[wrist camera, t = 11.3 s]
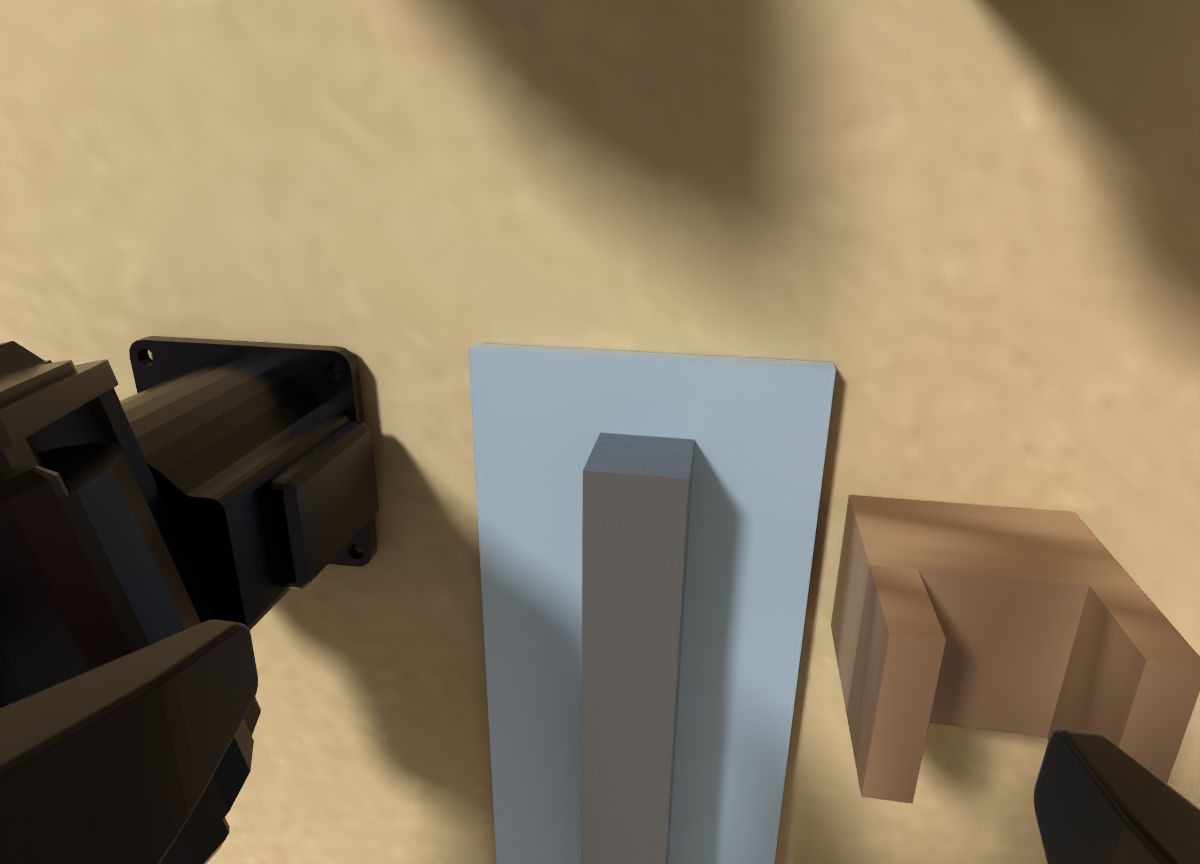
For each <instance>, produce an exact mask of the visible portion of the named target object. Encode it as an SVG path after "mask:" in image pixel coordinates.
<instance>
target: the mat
mask: <svg viewBox="0 0 1200 864" xmlns="http://www.w3.org/2000/svg"><path fill="white" fill-rule="evenodd" d="M469 364H470V383H471V402H472V421H473V439H474V458H475V477H476V495H477V514H478V533H479V551H480V570H481V589H482V608H483V626H484V645H485V664H486V682H487V701H488V720H489V738H490V757H491V776H492V794H493V813H494V832H495V851H496V864H580V862H581V690H582V518H583V469H584V467H585V464H586V462H587V460H588V458H589V456H590V454H591V451H592V449H593V447H594V445H595V443H596V441H597V438H598V436H599V434H600V433H614V434H627V435H641V436H654V437H668V438H681V439H694V455H693V471H692V488H691V504H690V520H689V536H688V552H687V568H686V584H685V601H684V617H683V633H682V649H681V665H680V681H679V697H678V713H677V730H676V746H675V762H674V778H673V794H672V810H671V826H670V843H669V859H668V864H774V863H775V855H776V847H777V839H778V831H779V823H780V815H781V807H782V799H783V790H784V782H785V774H786V766H787V758H788V750H789V742H790V734H791V726H792V718H793V710H794V702H795V694H796V686H797V678H798V670H799V662H800V654H801V646H802V638H803V630H804V622H805V613H806V605H807V597H808V589H809V581H810V573H811V565H812V557H813V549H814V541H815V533H816V525H817V517H818V509H819V501H820V493H821V485H822V477H823V469H824V461H825V453H826V445H827V436H828V428H829V420H830V412H831V404H832V396H833V388H834V380H835V372H836V368H835V366H834V363H833V362H821V361H803V360H784V359H766V358H747V357H729V356H710V355H692V354H673V353H655V352H636V351H618V350H599V349H581V348H562V347H544V346H525V345H507V344H488V343H475V344H474V345H473V346H472V347H470V348H469Z"/></svg>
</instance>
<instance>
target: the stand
mask: <svg viewBox="0 0 1200 864" xmlns="http://www.w3.org/2000/svg"><path fill="white" fill-rule="evenodd" d="M831 629H832V634H833V640H834V646H835V651H836V657H837V662H838V668H839V674H840V679H841V685H842V690H843V696H844V701H845V707H846V713H847V718H848V724H849V729H850V735H851V740H852V746H853V752H854V757H855V763H856V768H857V774H858V780H859V785H860V791H861V796H862V797H868V798H876V799H883V800H891V801H898V802H905V803H913V798H914V793H915V789H916V784H917V779H918V774H919V769H920V764H921V759H922V754H923V749H924V745H925V740H926V735H927V730H928V725H929V723H935V724H944V725H952V726H960V727H969V728H977V729H986V730H994V731H1002V732H1011V733H1019V734H1027V735H1036V736H1044V737H1048V739H1050V737H1051V735H1052V733H1053V732H1054V731H1055V730H1057V729H1060V728H1067V729H1075V730H1083V731H1090V732H1096V733H1099V734H1101V735H1103V736H1105V737H1106V738H1108V739H1109V740H1110V741H1112V742H1113V743H1114V744H1115V745H1117V746H1118V747H1119V748H1121V749H1122V750H1123V751H1125V752H1126V753H1127V754H1128V755H1130V756H1131V757H1132V758H1134V759H1135V760H1136V761H1138V762H1139V763H1140V764H1141V765H1143V766H1144V767H1145V768H1147V769H1148V770H1149V771H1151V772H1152V773H1153V774H1154V775H1156V776H1157V777H1158V778H1160V779H1161V780H1162V781H1164V782H1165V783H1166V784H1167V782H1168V779H1169V776H1170V773H1171V770H1172V768H1173V765H1174V762H1175V759H1176V756H1177V754H1178V751H1179V748H1180V745H1181V742H1182V740H1183V737H1184V734H1185V731H1186V728H1187V726H1188V723H1189V720H1190V717H1191V714H1192V711H1193V709H1194V706H1195V703H1196V700H1197V697H1198V695H1199V692H1200V657H1199V655H1198V654H1197V653H1196V652H1195V651H1194V650H1193V648H1192V647H1191V646H1190V645H1189V644H1188V643H1187V641H1186V640H1185V639H1184V638H1183V637H1182V636H1181V635H1180V633H1179V632H1178V631H1177V630H1176V629H1175V628H1174V626H1173V625H1172V624H1171V623H1170V622H1169V621H1168V619H1167V618H1166V617H1165V616H1164V615H1163V614H1162V613H1161V611H1160V610H1159V609H1158V608H1157V607H1156V606H1155V604H1154V603H1153V602H1152V601H1151V600H1150V599H1149V597H1148V596H1147V595H1146V594H1145V593H1144V592H1143V591H1142V589H1141V588H1140V587H1139V586H1138V585H1137V584H1136V582H1135V581H1134V580H1133V579H1132V578H1131V577H1130V575H1129V574H1128V573H1127V572H1126V571H1125V570H1124V569H1123V567H1122V566H1121V565H1120V564H1119V563H1118V562H1117V560H1116V559H1115V558H1114V557H1113V556H1112V555H1111V553H1110V552H1109V551H1108V550H1107V549H1106V548H1105V547H1104V545H1103V544H1102V543H1101V542H1100V541H1099V540H1098V538H1097V537H1096V536H1095V535H1094V534H1093V533H1092V531H1091V530H1090V529H1089V528H1088V527H1087V526H1086V525H1085V523H1084V522H1083V521H1082V520H1081V519H1080V518H1079V516H1078V515H1077V514H1076V513H1072V512H1060V511H1047V510H1034V509H1022V508H1009V507H996V506H983V505H971V504H958V503H945V502H933V501H920V500H907V499H894V498H882V497H869V496H856V495H849V499H848V507H847V514H846V521H845V528H844V535H843V542H842V550H841V557H840V564H839V571H838V578H837V586H836V593H835V600H834V607H833V614H832V621H831Z"/></svg>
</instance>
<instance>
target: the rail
mask: <svg viewBox="0 0 1200 864" xmlns="http://www.w3.org/2000/svg"><path fill="white" fill-rule="evenodd" d="M693 455H694V439H681V438H668V437H654V436H641V435H627V434H614V433H600V434H599V436H598V438H597V441H596V443H595V445H594V447H593V449H592V451H591V454H590V456H589V458H588V460H587V462H586V464H585V467H584V469H583V518H582V690H581V862H580V864H668V859H669V843H670V826H671V810H672V794H673V778H674V762H675V746H676V730H677V713H678V697H679V681H680V665H681V649H682V633H683V617H684V601H685V584H686V568H687V552H688V536H689V520H690V504H691V488H692V471H693Z"/></svg>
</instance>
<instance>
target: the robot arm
mask: <svg viewBox="0 0 1200 864" xmlns="http://www.w3.org/2000/svg"><path fill="white" fill-rule="evenodd" d="M148 350H149V351H150V352H152V354H153V356H154V361H153V360H152V359H151V358H150V357H149V355H148ZM129 352H130V360H131V365H132V370H133V374H134V379H135V383H136V388H137V393H138V394H136V395H133V396H131V397H129V398H126V399H124V400H122V401H119V399H118V396H117V394H116V392H115V390H114V387H115V386H117V385H118V382H117V380H116V377H115V375H114V373H113V371H112V368H111V366H110V364H109V361H108V360H101V361H96V362H91V363H86V364H81V365H76V366H74V364H73V362H72V360H68V361H62V362H55V363H52V362H51V360H48V361H44V360H42V359H41V358H39V357H38V356H36V355H35V354H33V353H31V352H30V351H28V350H27V349H25V348H24V347H22V346H20V345H19V344H17V343H16V342H14V341H11V342H6V343H1V344H0V864H207V863H208V861H209V860H210V859H211V858H212V857H213V856H214V855H215V853H216V852H217V851H218V850H219V849H220V847H221V846H222V844H223V842H224V841H225V839H226V837H227V835H228V834H229V825H228V823H227V821H226V819H225V816H226V815H227V813H228V812H229V811H230V809H231V807H232V805H233V803H234V801H235V799H236V797H237V795H238V794H239V792H240V790H241V788H242V786H243V784H244V782H245V780H246V779H247V777H248V775H249V773H250V769H251V761H252V752H253V743H254V740H253V738H252V734H253V731H254V728H255V726H256V723H257V720H258V718H259V715H260V712H261V709H260V707H259V704H258V702H257V700H256V698H255V695H256V692H257V687H258V675H257V669H256V663H255V657H254V651H253V645H252V639H251V634H250V630H251V629H252V628H253V627H254V626H255V625H256V624H257V623H258V622H259V620H260V619H261V618H262V617H263V616H264V615H265V614H266V613H267V612H268V611H269V610H270V609H271V608H272V607H273V606H274V605H275V604H276V603H277V602H278V601H279V600H280V599H281V598H282V597H283V596H284V595H285V594H286V593H287V592H288V591H289V590H290V589H291V588H294V589H303V588H304V587H306V586H307V585H308V584H309V583H310V582H311V581H312V580H313V579H314V578H315V577H316V576H317V575H318V574H319V572H320V571H321V570H322V569H323V568H324V567H325V566H326V565H327V564H337V565H347V566H357V567H358V566H364V565H366V564H368V563H369V562H370V560H371V559H372V558H373V557H374V556H375V554H376V553H377V537H376V528H375V518H374V514H375V513H376V512H377V511H378V509H379V504H378V495H377V485H376V476H375V466H374V457H373V447H372V437H371V431H370V429H369V428H368V427H367V425H366V424H365V423H364V416H363V407H362V397H361V388H360V379H359V369H358V364H357V360H356V358H355V357H354V355H353V354H352V353H351V352H350V351H348V350H347V349H346V348H342V347H337V346H319V345H302V344H284V343H266V342H248V341H231V340H213V339H195V338H177V337H160V336H150V337H145V338H142V339H140V340H137V341H135V342H134V343H133V344H132V345H131V347H130V350H129ZM332 359H333V360H336V361H338V362H339V363H340V364H341V366H342V369H343V371H342V374H340V373H337V372H336V371H335V370H334V369H333V367H332ZM353 544H357V545H359V546H360V547H361V548H362V549H363V552H359V551H358V550H356V549H355V547H354V545H353ZM1034 807H1035V813H1036V818H1037V822H1038V826H1039V830H1040V834H1041V838H1042V842H1043V846H1044V851H1045V855H1046V859H1047V863H1048V864H1200V809H1199V808H1197V807H1196V806H1195V805H1193V804H1192V803H1191V802H1190V801H1188V800H1187V799H1186V798H1184V797H1183V796H1182V795H1180V794H1179V793H1178V792H1177V791H1175V790H1174V789H1173V788H1171V787H1170V786H1169V785H1167V784H1166V783H1165V782H1164V781H1162V780H1161V779H1160V778H1158V777H1157V776H1156V775H1154V774H1153V773H1152V772H1151V771H1149V770H1148V769H1147V768H1145V767H1144V766H1143V765H1141V764H1140V763H1139V762H1138V761H1136V760H1135V759H1134V758H1132V757H1131V756H1130V755H1128V754H1127V753H1126V752H1125V751H1123V750H1122V749H1121V748H1119V747H1118V746H1117V745H1115V744H1114V743H1113V742H1112V741H1110V740H1109V739H1108V738H1106V737H1105V736H1103V735H1101V734H1099V733H1096V732H1090V731H1083V730H1075V729H1067V728H1060V729H1057V730H1055V731H1054V732H1053V733H1052V735H1051V737H1050V739H1049V742H1048V745H1047V748H1046V752H1045V755H1044V758H1043V762H1042V765H1041V768H1040V772H1039V775H1038V778H1037V782H1036V785H1035V790H1034Z"/></svg>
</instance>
